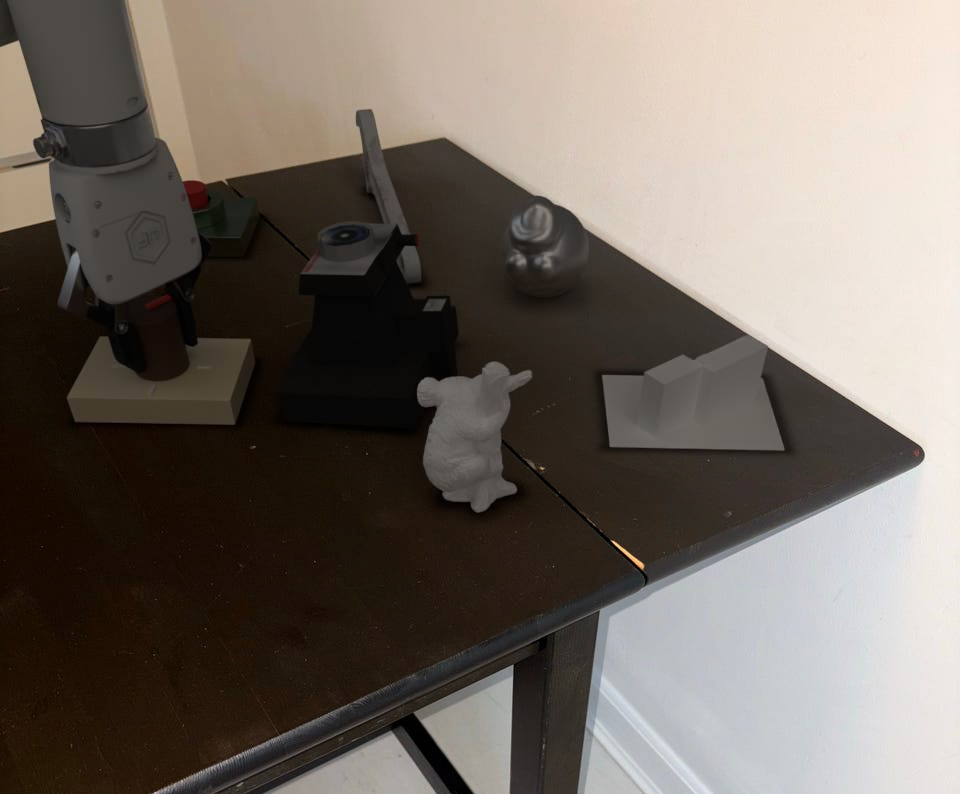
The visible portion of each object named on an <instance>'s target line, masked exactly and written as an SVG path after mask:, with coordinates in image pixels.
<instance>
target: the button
mask: <svg viewBox="0 0 960 794" xmlns="http://www.w3.org/2000/svg"><path fill="white" fill-rule="evenodd" d="M182 181H183V184H184V187H185V190H186V193H187V196H188V199H189V203H190V206H191V208H196V207H201V206H203V205H205V204H207V203H209V200H208V195H207V190H206V188H207V186H206V184H205V182H203V181H201V180H194V179H192V180H191V179H189V180H182Z"/></svg>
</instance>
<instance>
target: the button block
mask: <svg viewBox="0 0 960 794" xmlns="http://www.w3.org/2000/svg"><path fill="white" fill-rule="evenodd" d="M206 190H207V195H208V200H209V203H207V204H205V205H203V206H201V207H196V208H191V209H192V213H193V216H194V220H195V223H196V227H197V231H199V232H200V233H201V234H202V235H203V236H204V237H205V238H207V239H208V240H209V241H210V242H211V244H212V248H211V250H210V252H209V254H208V256H207V258H209V257H211V258H212V257H215V258H244V257H245V256H246V252H247V250H248V248H249V246H250V243H251V240H252V237H253V235H254V233H255V231H256V227H257V225H258V222H259V220H260V217H261V215H260V209H259V203H258V198H257V197H230V196H229V197H228V196H227V197H226V196H225V197H223V196H222V194H221V193H220V192H219V191H218V190H216V189H215V190H214V189H211V188H208V187H206Z"/></svg>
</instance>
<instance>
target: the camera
mask: <svg viewBox="0 0 960 794" xmlns="http://www.w3.org/2000/svg"><path fill="white" fill-rule="evenodd" d="M316 236H317V237H316V242H317V246H318V249H317V250H316V251H315V252H314V254H313V255H312V257H311V258H310V259H309V260H308V262H307V264H306V265H304V267H303V269H302V271H301V272H300V273H299V279H298V280H299V282H298V295H299V296H314V304H313V314H312V323H311V328H310V330H309V332H307V335H306V336H305V338H304V340H303V341H302V343H301V344H300V345H299V347H298V349H297V350H296V351H295V353H294V354H293V356H292V357H291V359H290V360H289V362H288V364H287V366H286V369H285V370H284V371H285V372H284V373H283V377H282V379H281V381H280V384H279V387H278V390H277V392H276V394H277V397H278V401H279V405H280V409H281V412H282V416H283V419H284V422H292V423H310V424H311V423H312V424H330V425H346V426H347V425H349V426H364V427H365V426H366V427H367V426H368V427H382V428H383V427H384V428H385V427H386V428H400V429H401V428H402V429H403V428H405V429H416V428H417V426H418V424H419V421H420V419H421V417H422V415H423V413H424V410H425V408H426V407H424V406H421V405H420V403H419V402H418V398H417V388H418V385H419V383H420V382H421V380H424V378H426V377H429V378H434V379H436V380H437V381H441V380H443V379H445V378H449V377H457V376H459V375H458V365H457V357H456V356H457V355H456V346H455V344H456V341H457V339H458V337H459V335H460V332H459V325H458V324H459V323H458V316H457V315H458V314H457V307H456V305H452V301H451V295H450V294H449V295H426V297H425V298H414V297H413V295H412V292H411V289H410V287H409V284H407V282H406V280H405V278H404V276H403V274H402V272H401V270H400V268H399V266H398V264H397V261H396V260H397V258H398V257H399V255H400V253H401V252H402V250H403V248H404V247H405V246H415V247H418V245H419V242H420V239H419V235H418V234H417V233H416V234H412V233H410V234H402V233H401V231H400V229H399V226H398V224H384V223H372V222H369V223H368V222H363V221H355V220H351V221H349V220H348V221H341V222H337V223H334V224H330V225H328V226H325V227H323V229H321V230H320V231H319V232H317V235H316Z"/></svg>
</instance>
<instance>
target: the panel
mask: <svg viewBox="0 0 960 794" xmlns="http://www.w3.org/2000/svg"><path fill="white" fill-rule="evenodd" d="M197 340H198V344H197V345H195V346H194V347H191V346H188V345H186V344H185V345H186V349H187V353H188V357H189V362H190V364H189V367H188V369H187V370H186V371H185V372H184V373H183V374H181V375H180V376H178V377H175V378H173V379H169V380H164V381H149V380H145V379H142V378H140V377H139V376H137V375H136V373H135V371H133V370H131V369H129V368H128V367H126V366H124V365H122V364H120V363H119V362H118V361H117V360H116V359H115V357H114V355H113V351H112V348H111V345H110V341H109V338H108V336H99V337H98V339H97V341H96V342H95V345H94V347H93V349H92V350H91V352H90V355H89V356H88V358H87V359H86V361H85V363H84V365H83V367H82V368H81V371H80V372H79V374H78V376H77V378H76V380H75V381H74V383H73V385H72V387H71V389H70V391H69V392H68V394H67V397H66V399H67V402H68V405H69V408H70V411H71V414H72V418H73V420H74V422H75V423H105V424H106V423H108V424H109V423H110V424H112V423H113V424H114V423H116V424H167V425H169V424H173V425H229V426H230V425H231V426H235V425H236V423H237V421H238V418H239V415H240V411H241V408H242V405H243V402H244V399H245V395H246V392H247V389H248V387H249V383H250V380H251V378H252V374H253V371H254V368H255V366H256V357H255V353H254V347H253V342H252V339H251V338H222V337H221V338H215V337H213V338H212V337H197Z"/></svg>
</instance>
